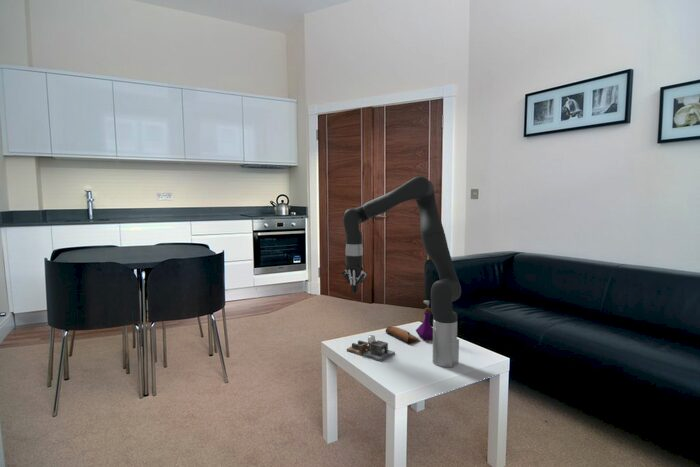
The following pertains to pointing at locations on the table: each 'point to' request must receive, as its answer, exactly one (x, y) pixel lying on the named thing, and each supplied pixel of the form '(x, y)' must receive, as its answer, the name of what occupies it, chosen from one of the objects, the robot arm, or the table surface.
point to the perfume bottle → (425, 325)
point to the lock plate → (375, 350)
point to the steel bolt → (370, 340)
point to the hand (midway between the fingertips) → (354, 293)
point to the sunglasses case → (402, 335)
